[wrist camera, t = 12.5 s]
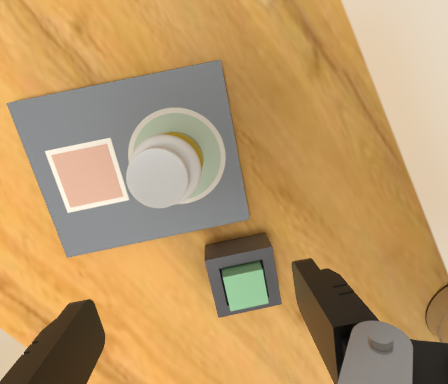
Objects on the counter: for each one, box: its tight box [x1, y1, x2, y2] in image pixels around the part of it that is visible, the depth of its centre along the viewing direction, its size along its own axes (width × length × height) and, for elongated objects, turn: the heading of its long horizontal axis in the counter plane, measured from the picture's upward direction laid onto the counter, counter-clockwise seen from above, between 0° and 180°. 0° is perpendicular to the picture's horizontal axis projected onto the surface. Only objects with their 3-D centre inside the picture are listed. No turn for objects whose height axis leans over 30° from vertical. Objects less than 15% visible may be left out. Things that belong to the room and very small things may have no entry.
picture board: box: [7, 60, 250, 258], centre depth 27 cm, size 20×16×1 cm
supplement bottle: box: [126, 132, 204, 208], centre depth 22 cm, size 5×5×10 cm
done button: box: [222, 260, 269, 311], centre depth 28 cm, size 4×4×2 cm
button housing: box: [205, 233, 282, 317], centre depth 30 cm, size 7×7×4 cm
